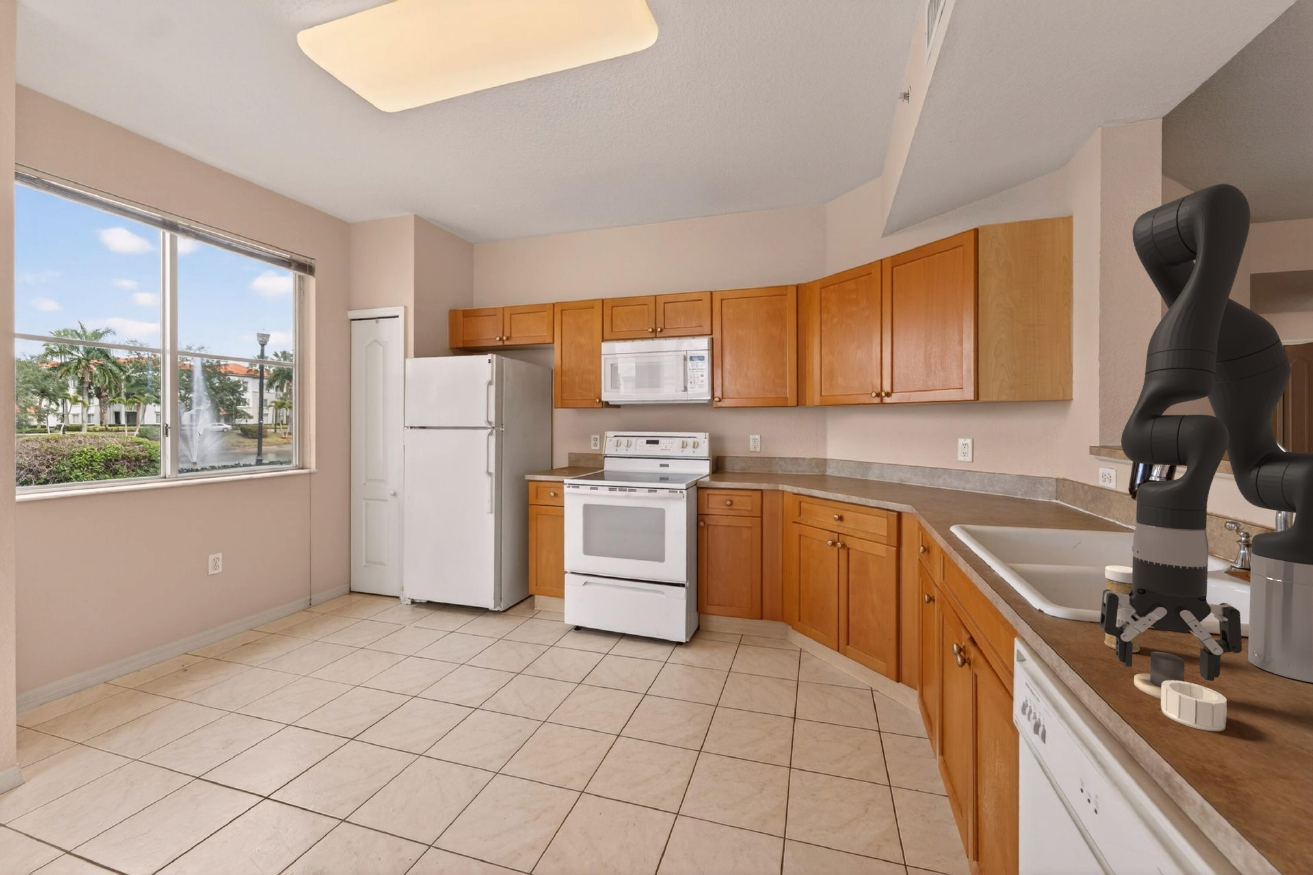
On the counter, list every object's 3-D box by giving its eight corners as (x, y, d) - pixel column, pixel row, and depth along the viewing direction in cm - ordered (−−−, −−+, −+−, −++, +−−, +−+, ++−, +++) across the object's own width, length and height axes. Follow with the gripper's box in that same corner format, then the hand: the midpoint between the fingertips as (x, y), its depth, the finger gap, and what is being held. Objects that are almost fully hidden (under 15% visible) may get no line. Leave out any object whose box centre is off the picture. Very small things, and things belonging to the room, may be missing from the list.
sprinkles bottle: (1143, 649, 87) (1145, 569, 87) (1134, 656, 85) (1136, 573, 84) (1108, 639, 91) (1110, 563, 91) (1099, 646, 89) (1101, 567, 88)
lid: (1162, 679, 78) (1163, 645, 77) (1216, 703, 71) (1217, 667, 71) (1121, 681, 77) (1121, 647, 77) (1170, 706, 70) (1171, 669, 70)
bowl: (1187, 705, 70) (1188, 679, 70) (1239, 730, 64) (1239, 702, 64) (1149, 707, 70) (1149, 681, 69) (1197, 732, 64) (1198, 704, 64)
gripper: (1112, 557, 73) (1109, 672, 74) (1255, 570, 67) (1251, 696, 67) (1096, 546, 80) (1093, 651, 80) (1225, 557, 73) (1221, 671, 74)
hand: (1165, 671), depth 74 cm, fingers open, 8 cm apart
